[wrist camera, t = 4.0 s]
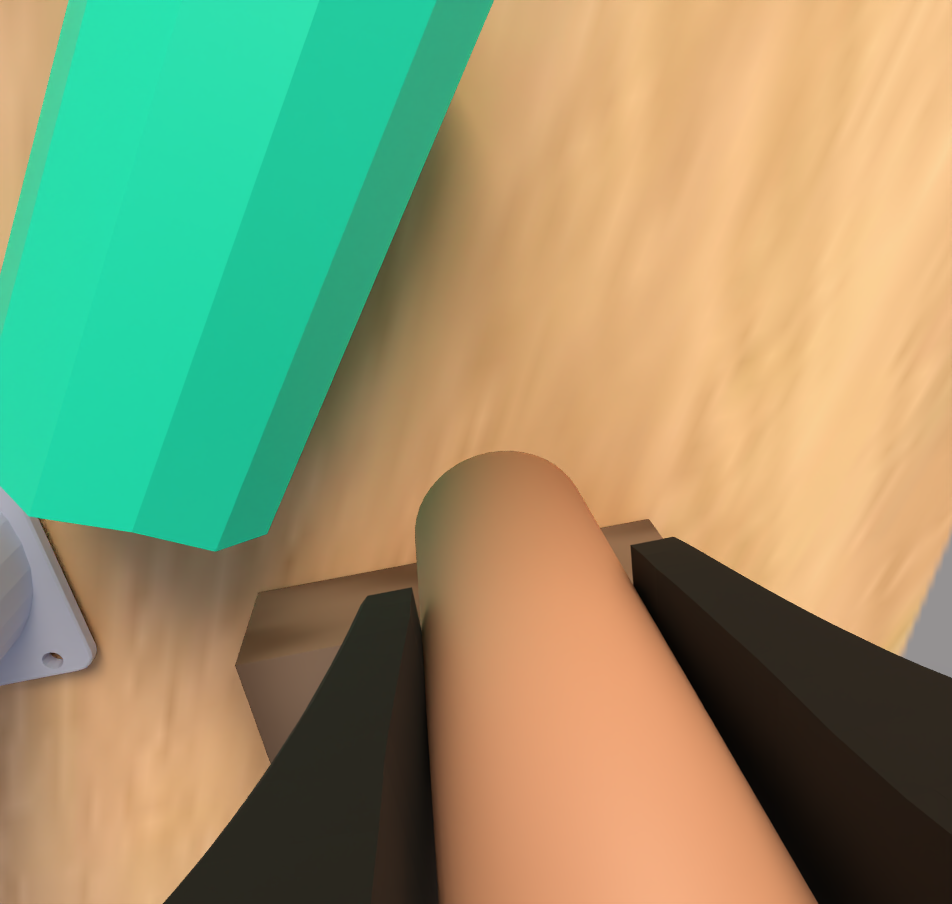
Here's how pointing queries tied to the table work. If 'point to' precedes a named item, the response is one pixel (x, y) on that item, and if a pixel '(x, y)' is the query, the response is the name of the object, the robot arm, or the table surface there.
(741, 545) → the table surface
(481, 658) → the peg
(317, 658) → the hole block
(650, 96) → the table surface
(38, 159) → the candle
